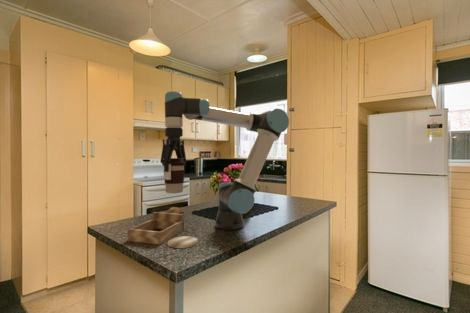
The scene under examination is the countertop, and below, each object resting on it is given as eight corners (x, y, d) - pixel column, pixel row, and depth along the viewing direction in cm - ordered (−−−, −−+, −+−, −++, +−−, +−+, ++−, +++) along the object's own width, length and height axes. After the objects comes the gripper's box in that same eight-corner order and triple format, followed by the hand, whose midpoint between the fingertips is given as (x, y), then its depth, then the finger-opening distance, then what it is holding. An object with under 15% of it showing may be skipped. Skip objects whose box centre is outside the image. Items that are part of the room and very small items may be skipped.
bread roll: (168, 221, 157) (162, 210, 156) (183, 213, 161) (177, 202, 160) (170, 226, 148) (164, 214, 147) (186, 216, 152) (180, 205, 150)
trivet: (202, 239, 115) (202, 237, 115) (190, 249, 103) (190, 248, 103) (176, 236, 119) (176, 235, 119) (161, 246, 106) (161, 244, 106)
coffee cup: (189, 192, 112) (188, 158, 112) (166, 194, 107) (166, 158, 107) (181, 189, 121) (180, 158, 120) (160, 191, 115) (159, 158, 115)
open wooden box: (183, 230, 129) (183, 214, 128) (161, 244, 108) (161, 225, 108) (155, 227, 133) (154, 212, 133) (127, 240, 113) (127, 222, 113)
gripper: (179, 130, 125) (179, 175, 125) (150, 125, 104) (151, 180, 104) (193, 129, 123) (193, 176, 123) (166, 124, 101) (167, 181, 102)
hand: (174, 178), depth 114 cm, fingers closed on coffee cup, 10 cm apart
